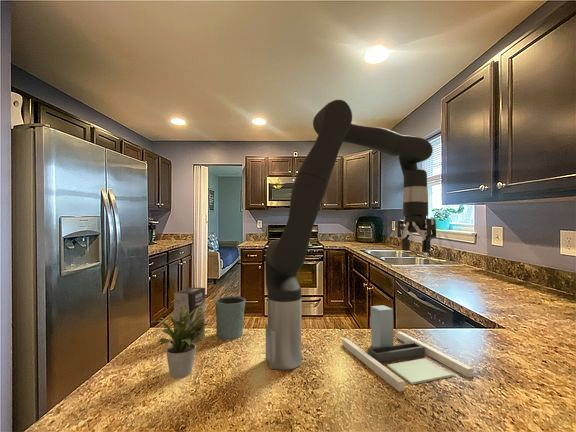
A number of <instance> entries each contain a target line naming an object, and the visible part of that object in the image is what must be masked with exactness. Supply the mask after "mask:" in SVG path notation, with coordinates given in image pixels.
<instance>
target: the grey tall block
mask: <svg viewBox="0 0 576 432" xmlns="http://www.w3.org/2000/svg"><path fill="white" fill-rule="evenodd" d="M370 328H371V329H370V334H371V337H370V339H371V340H370V342H371V346H372V348H375V347H382V346H389V345H395V344H394V308H392V307H389V306H387V305H384V304H383V305H372V306H371V305H370Z"/></svg>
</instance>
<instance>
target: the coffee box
mask: <svg viewBox="0 0 576 432" xmlns="http://www.w3.org/2000/svg"><path fill="white" fill-rule="evenodd" d="M173 295H174V298H173V317H174V318H175V320H176V322H177V325H178V329H179V313H180V309H181V306H182V317H183V314H184V312H185V310H186V309H187V308H189V311H188V314H189V315H190V313H191V312H192V311H193V310H194V309H195V308H196V309H195V311H194V312H193V313H192V315H191V317H190V319H189V320H188V322H187V324H186V327H187V326H189V325H191V323H192V322H193V321H194V320H195V318H196V317H197V316H198V315H200V314H201V313H203V312H205V311H206V288H205V287H187V288H185V289H181V290H178V291H176V292H174V294H173ZM202 318H206V312H205V313H203V314H202V315H201V316H200V317H199V319H201V320H199V319H198V321H196V322H195V323H194V325H193V326H192V327H194V326H197V325H200V324H206V322H205V321H206V319H202ZM199 321H202V322H199ZM197 322H199V323H197ZM196 323H197V324H196ZM205 327H206V325H205V326H202V327H200V328H198V329H196V330H195V331H194V333H195V332H197V331H201V330H203V331H206V330H205ZM188 328H189V327H187V328H185V329H188ZM172 330H173V332H174V334H175V330H174V328H173V329H172ZM194 333H193V334H194ZM200 333H201V332H199V333H196V334H195V335H198V334H200ZM193 334H192V335H193ZM201 334H204V335H205V334H206V333H205V332H203V333H201ZM195 335H193V336H195ZM193 336H192V337H193ZM205 336H206V335H205ZM175 337H176V334H175ZM192 337H191V338H192ZM203 337H204V336H201V337H196V338H195V339H194V338H193V339H194V340H193V339H191V341H192V340H193V341H192V342H191V343H194V344H195V343H197V342H198V341H199V340H201V339H202V338H203ZM172 341H173V340H172ZM173 342H174V341H173ZM174 343H175V342H174Z"/></svg>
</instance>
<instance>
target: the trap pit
mask: <svg viewBox="0 0 576 432" xmlns="http://www.w3.org/2000/svg"><path fill="white" fill-rule="evenodd" d="M367 354H368V355H370V356H371V357H373V358H374V359H375V360H377V361H378V362H379V363H381V364H384V363H385V364H386V363H392V362H398V361H399V362H400V361H403V360H404V361H405V360H411V359H416V358H421V357H425V356H426V354H425V347H424V346H422V345H420V344H418V343H416V342H410V343H405V342H404V343H397V344H394V345H389V346H382V347H375V348H374V347H369V348H367Z"/></svg>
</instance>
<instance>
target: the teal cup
mask: <svg viewBox="0 0 576 432" xmlns="http://www.w3.org/2000/svg"><path fill="white" fill-rule="evenodd" d="M214 302H215V303H214V306H215V316H216V317H215V322H216V326H215V327H216V328H215V331H216V335H215V336H216V337H217V339H218V340H220V341H221V340H222V341H232V340H237V339H240V338H241V337H242V335H243V331H244V319H245V317H244V314H245V307H246V298H244V297H243V296H242V297H241V296H234V295H233V296H231V295H230V296H228V295H227V296H222V297H218V298H216V299H215V300H214Z"/></svg>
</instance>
